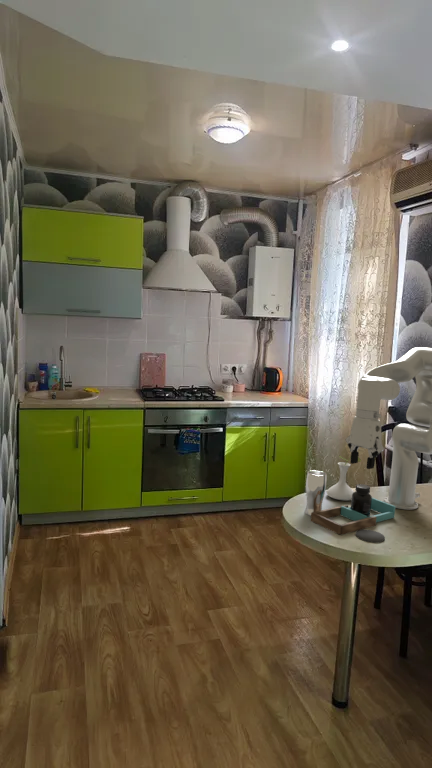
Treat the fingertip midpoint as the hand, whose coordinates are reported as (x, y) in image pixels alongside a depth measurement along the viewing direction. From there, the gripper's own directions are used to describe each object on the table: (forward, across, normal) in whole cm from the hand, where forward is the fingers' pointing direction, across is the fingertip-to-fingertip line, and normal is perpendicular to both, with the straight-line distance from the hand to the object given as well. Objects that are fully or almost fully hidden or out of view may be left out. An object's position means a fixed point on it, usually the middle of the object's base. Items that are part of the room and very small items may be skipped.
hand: (361, 465), depth 179 cm
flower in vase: (+20, +18, -14) cm, 30 cm away
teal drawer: (+20, 0, -5) cm, 20 cm away
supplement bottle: (+20, 0, -2) cm, 20 cm away
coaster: (+20, -12, +8) cm, 24 cm away
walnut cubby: (+20, 0, +7) cm, 21 cm away
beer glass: (+20, +11, +10) cm, 25 cm away
